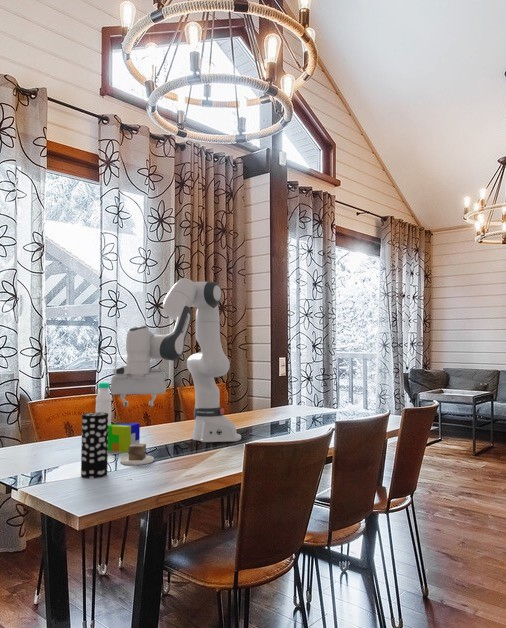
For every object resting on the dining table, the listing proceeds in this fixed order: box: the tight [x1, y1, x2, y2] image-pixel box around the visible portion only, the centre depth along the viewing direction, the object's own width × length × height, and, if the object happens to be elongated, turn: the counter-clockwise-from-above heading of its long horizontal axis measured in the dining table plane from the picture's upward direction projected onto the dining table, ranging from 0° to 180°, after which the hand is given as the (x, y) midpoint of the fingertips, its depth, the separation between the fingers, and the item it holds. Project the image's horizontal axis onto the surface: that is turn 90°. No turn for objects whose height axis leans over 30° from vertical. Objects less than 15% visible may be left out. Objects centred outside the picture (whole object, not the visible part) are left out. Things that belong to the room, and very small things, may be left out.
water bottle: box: [95, 382, 112, 425], centre depth 239 cm, size 7×7×25 cm
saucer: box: [119, 454, 155, 466], centre depth 191 cm, size 12×12×1 cm
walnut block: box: [128, 443, 147, 460], centre depth 191 cm, size 5×5×5 cm
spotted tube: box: [80, 412, 109, 480], centre depth 172 cm, size 8×8×20 cm
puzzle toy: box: [108, 421, 141, 453], centre depth 214 cm, size 10×10×10 cm
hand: (138, 406), depth 194 cm, fingers open, 8 cm apart
